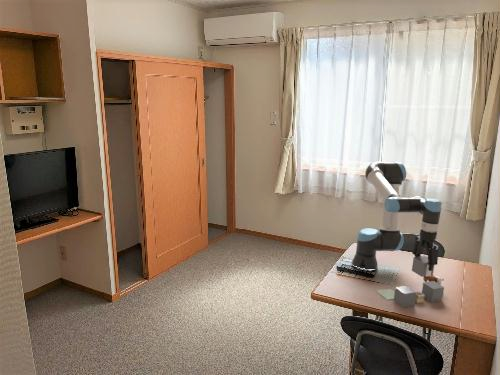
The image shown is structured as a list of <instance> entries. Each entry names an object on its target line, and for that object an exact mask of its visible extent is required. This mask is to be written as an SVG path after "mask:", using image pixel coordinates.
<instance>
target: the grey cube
mask: <svg viewBox="0 0 500 375" xmlns="http://www.w3.org/2000/svg"><path fill="white" fill-rule="evenodd" d="M444 291H445V286H442V284H441V285H440V284H438V283H436V282H435V281H431V282H429V281H428V282H422V289H421V293H422V294H424V295H425V297H424V299H425V300H427V301H429V302H430V303H435V302H440V301H442V300H443V296H444Z"/></svg>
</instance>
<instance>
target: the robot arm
mask: <svg viewBox="0 0 500 375" xmlns="http://www.w3.org/2000/svg"><path fill="white" fill-rule="evenodd" d="M364 173H365V179H366V181H367V182H368V183H369V184H371V185H372V186H373V187H374V188H375V189H376V191H377V192H378V193H379V195H380V196H381V197H382V202H383V204H382V225H381V226H380V227H379V230H377V228H371V227H368V228H362V229H360V230H359V231H358V233H357V237H356V238H357V241H356V250H355V254H354V257H353V259H352V261H351V265H352V264H353V265H354V266H357V267H360V268H365V269H377V270H378V260H377V252H397V251H400V250H401V249H402V247H403V245H404V239H405V238H404V234H403V232H401V229H400V228H399V227H398V221H399V220H398V219H399V218H398V217H399V213H418V214H419V213H420V214H421V216H422V218H421V227H420V230H419V235H418V236H415V237H414V239H415V240H414V241H415V242H414V244H413V245H414V246H413V249H412V255H413V256H414V257H418V256H422V253H423V252H424V249H425V252H426V253H427V254H426V255H427V257H428V262H429V264H427V268H426V274H425V276H431V271H432V270H433V265H434V266H437V265H438V262H439V261H438V260H439V249H440V245H437V244H436V242H435V241H436V239H437V236H438V230H439V224H440V218H441V213H442V204H443V203H442V201H441V200H440V199H437V198H429V197H428V198H425V197H422V196H420V195H415V196H412V197H402V196H401V195H400V192H399V191H400V187H401V186H402V185H403V182H404V181H405V180H406V178H407V169H406V167H405V165H404V163H402V162H400V161H399V162H398V161H374V162H372V163H370V164H369V165H367V167H366V168H365V172H364Z"/></svg>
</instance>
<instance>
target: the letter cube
mask: <svg viewBox="0 0 500 375" xmlns="http://www.w3.org/2000/svg"><path fill="white" fill-rule="evenodd" d="M415 292H416V297H415V303H417V304H420V303H424V302H425V298H424V297H425V295H424V294H422V291H415Z"/></svg>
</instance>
